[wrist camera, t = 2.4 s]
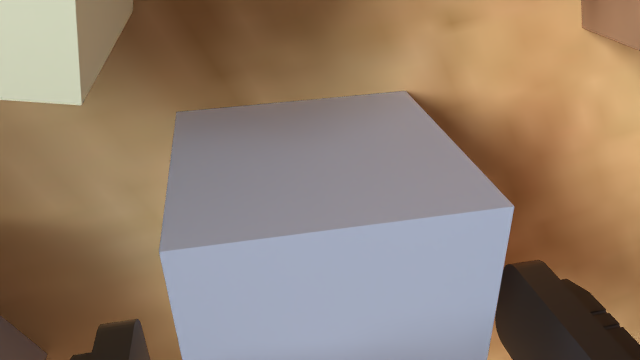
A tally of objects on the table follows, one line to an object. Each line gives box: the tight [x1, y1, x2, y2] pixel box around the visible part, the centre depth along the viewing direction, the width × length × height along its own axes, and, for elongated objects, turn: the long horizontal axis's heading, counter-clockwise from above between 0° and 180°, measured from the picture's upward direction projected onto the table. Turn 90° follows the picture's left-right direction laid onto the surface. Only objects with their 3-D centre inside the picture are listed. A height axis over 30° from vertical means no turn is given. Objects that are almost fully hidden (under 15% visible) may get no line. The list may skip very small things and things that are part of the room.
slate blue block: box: [159, 91, 514, 360], centre depth 13 cm, size 6×6×6 cm
